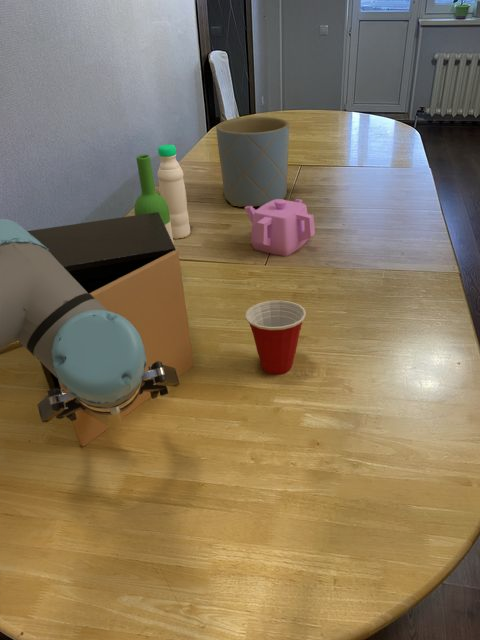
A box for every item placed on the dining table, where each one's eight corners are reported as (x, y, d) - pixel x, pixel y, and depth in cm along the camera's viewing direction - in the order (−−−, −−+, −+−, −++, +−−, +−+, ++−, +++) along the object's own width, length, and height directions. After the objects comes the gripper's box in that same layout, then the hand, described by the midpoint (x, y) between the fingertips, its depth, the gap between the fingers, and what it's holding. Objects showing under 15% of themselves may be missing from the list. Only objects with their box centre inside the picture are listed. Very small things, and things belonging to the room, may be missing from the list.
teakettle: (258, 261, 136) (256, 215, 128) (244, 236, 149) (242, 193, 142) (320, 252, 139) (321, 207, 131) (300, 228, 152) (301, 187, 145)
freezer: (191, 362, 100) (175, 248, 86) (51, 393, 94) (9, 275, 80) (174, 317, 114) (158, 211, 100) (51, 340, 108) (16, 232, 94)
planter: (291, 209, 165) (291, 131, 151) (220, 212, 165) (213, 134, 152) (287, 186, 184) (287, 115, 170) (223, 188, 184) (218, 118, 170)
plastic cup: (296, 345, 104) (296, 293, 97) (312, 377, 95) (313, 323, 88) (243, 353, 102) (240, 300, 95) (254, 387, 93) (251, 332, 86)
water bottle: (195, 234, 151) (185, 145, 137) (176, 241, 147) (164, 150, 133) (180, 228, 155) (168, 141, 141) (161, 235, 151) (147, 146, 137)
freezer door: (221, 378, 96) (210, 261, 82) (112, 466, 79) (74, 338, 65) (190, 363, 100) (174, 250, 86) (79, 444, 83) (37, 319, 69)
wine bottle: (173, 271, 132) (155, 149, 115) (183, 283, 127) (166, 157, 109) (143, 278, 130) (120, 154, 112) (152, 291, 124) (129, 163, 107)
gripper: (-1, 443, 53) (36, 448, 74) (218, 383, 60) (195, 402, 81) (-17, 373, 54) (24, 397, 75) (200, 322, 61) (182, 357, 82)
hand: (112, 400), depth 78 cm, fingers open, 11 cm apart
